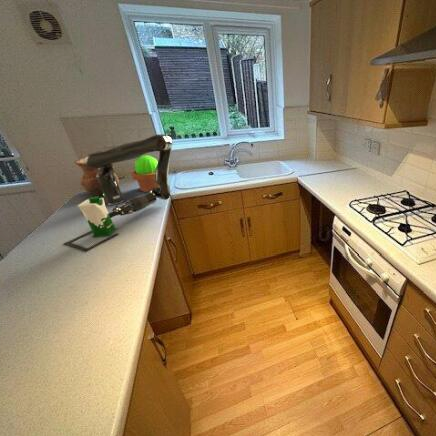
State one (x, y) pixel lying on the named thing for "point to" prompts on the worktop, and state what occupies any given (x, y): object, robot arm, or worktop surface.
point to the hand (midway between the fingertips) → (108, 216)
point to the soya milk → (97, 216)
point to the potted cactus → (145, 173)
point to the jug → (91, 178)
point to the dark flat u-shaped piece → (89, 247)
